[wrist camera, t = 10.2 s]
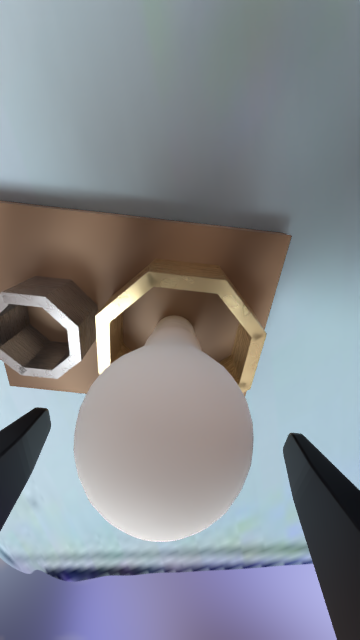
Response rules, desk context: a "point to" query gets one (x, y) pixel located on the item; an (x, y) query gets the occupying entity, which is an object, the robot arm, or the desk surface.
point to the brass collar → (189, 279)
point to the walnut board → (134, 274)
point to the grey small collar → (33, 347)
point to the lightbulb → (164, 438)
